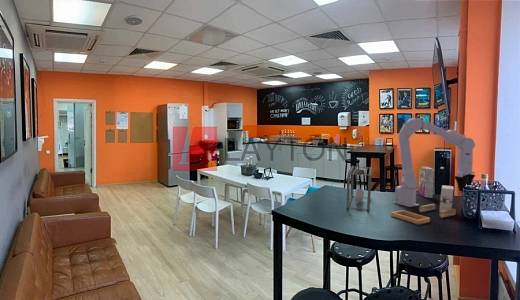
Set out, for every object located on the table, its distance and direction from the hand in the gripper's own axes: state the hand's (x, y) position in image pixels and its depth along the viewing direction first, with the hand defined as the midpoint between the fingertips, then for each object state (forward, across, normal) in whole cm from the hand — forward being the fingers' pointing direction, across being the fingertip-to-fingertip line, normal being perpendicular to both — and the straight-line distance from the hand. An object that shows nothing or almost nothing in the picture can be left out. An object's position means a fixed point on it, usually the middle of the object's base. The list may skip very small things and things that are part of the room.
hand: (464, 189), depth 152 cm
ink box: (+10, -11, +4) cm, 15 cm away
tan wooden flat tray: (+8, -38, +9) cm, 40 cm away
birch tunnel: (+9, -18, +6) cm, 21 cm away
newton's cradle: (+8, -32, +38) cm, 50 cm away
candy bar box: (+9, +15, +24) cm, 30 cm away
